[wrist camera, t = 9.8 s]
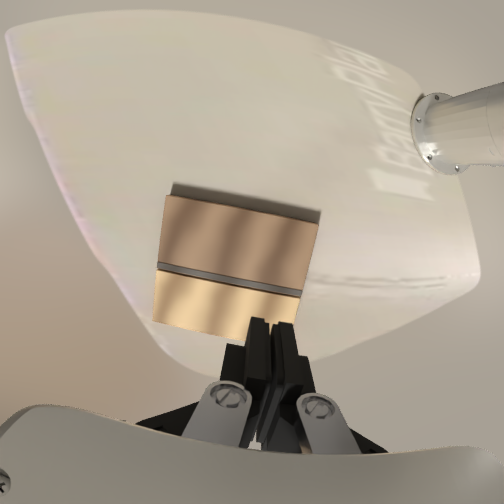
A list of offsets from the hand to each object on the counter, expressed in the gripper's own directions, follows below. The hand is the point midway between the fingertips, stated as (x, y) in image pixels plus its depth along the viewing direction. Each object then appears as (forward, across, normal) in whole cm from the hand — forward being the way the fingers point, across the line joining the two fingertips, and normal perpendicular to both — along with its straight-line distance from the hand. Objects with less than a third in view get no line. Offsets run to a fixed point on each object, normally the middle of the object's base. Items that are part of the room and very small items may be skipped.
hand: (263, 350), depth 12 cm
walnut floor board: (+29, +3, +3) cm, 29 cm away
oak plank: (+29, +3, +12) cm, 32 cm away
